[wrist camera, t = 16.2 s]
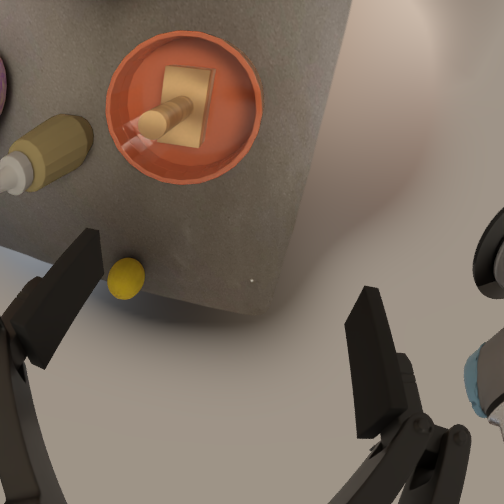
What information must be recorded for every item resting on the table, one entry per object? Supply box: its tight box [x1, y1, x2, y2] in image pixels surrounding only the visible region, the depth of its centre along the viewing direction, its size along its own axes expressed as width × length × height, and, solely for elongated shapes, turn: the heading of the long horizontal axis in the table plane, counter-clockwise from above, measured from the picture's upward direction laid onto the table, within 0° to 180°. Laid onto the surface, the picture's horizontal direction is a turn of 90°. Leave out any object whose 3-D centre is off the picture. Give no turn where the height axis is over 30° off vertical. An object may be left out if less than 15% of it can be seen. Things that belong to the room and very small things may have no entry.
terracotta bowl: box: [106, 30, 264, 185], centre depth 32 cm, size 17×17×6 cm
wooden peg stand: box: [138, 65, 216, 148], centre depth 29 cm, size 9×5×12 cm, turn 169°
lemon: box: [107, 258, 145, 299], centre depth 46 cm, size 6×6×8 cm
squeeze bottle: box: [0, 114, 94, 195], centre depth 30 cm, size 8×8×18 cm
